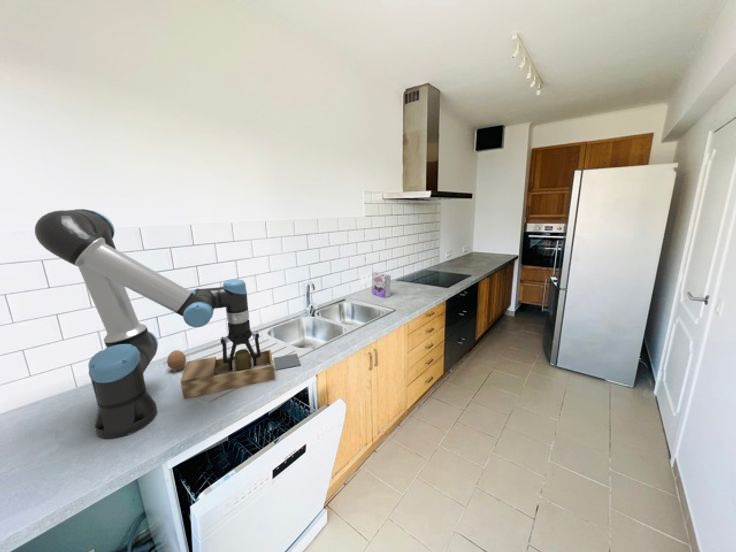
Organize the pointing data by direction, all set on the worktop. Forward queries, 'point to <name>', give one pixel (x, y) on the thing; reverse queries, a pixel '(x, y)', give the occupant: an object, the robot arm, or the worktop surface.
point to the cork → (242, 360)
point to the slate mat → (286, 361)
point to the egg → (176, 360)
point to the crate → (223, 375)
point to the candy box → (381, 284)
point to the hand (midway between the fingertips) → (244, 375)
